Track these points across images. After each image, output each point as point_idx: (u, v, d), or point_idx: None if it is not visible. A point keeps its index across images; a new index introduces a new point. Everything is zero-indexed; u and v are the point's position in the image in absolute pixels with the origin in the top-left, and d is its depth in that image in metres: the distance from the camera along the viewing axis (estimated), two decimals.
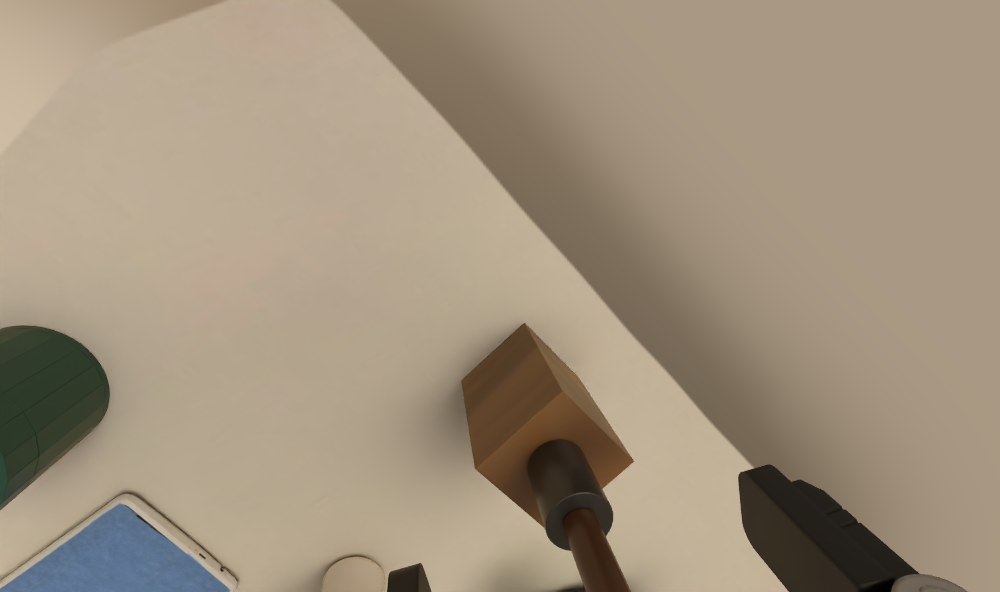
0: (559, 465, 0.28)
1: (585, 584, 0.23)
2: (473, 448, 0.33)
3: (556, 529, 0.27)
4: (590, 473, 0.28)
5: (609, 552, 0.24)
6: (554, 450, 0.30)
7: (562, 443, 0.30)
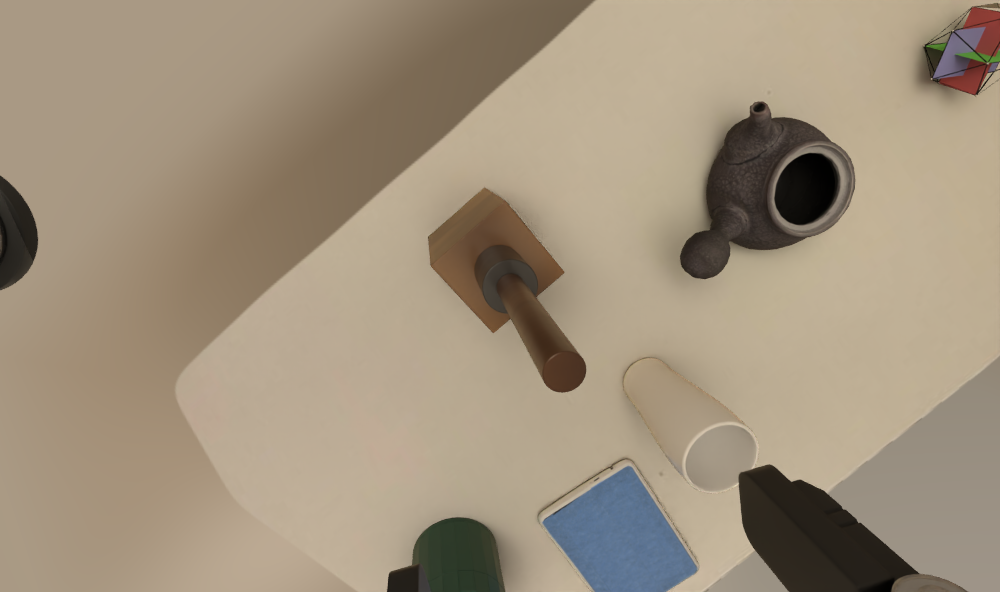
0: None
1: None
2: None
3: None
4: (485, 262, 0.34)
5: (506, 292, 0.30)
6: (476, 278, 0.37)
7: (475, 267, 0.37)
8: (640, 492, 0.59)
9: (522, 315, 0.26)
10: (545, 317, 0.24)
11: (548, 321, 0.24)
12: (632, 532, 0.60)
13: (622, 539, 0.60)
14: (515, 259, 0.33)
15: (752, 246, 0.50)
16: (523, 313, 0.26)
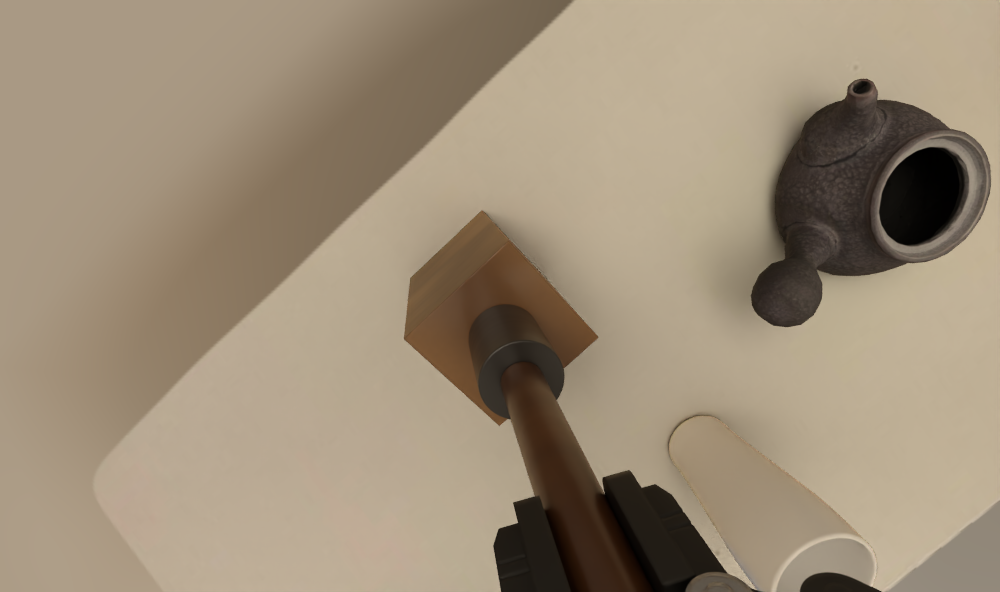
0: None
1: None
2: None
3: None
4: (482, 339, 0.23)
5: (516, 406, 0.18)
6: None
7: (469, 339, 0.25)
8: None
9: (546, 485, 0.14)
10: (592, 503, 0.13)
11: (600, 519, 0.12)
12: None
13: None
14: (528, 339, 0.21)
15: (839, 272, 0.38)
16: (548, 480, 0.14)
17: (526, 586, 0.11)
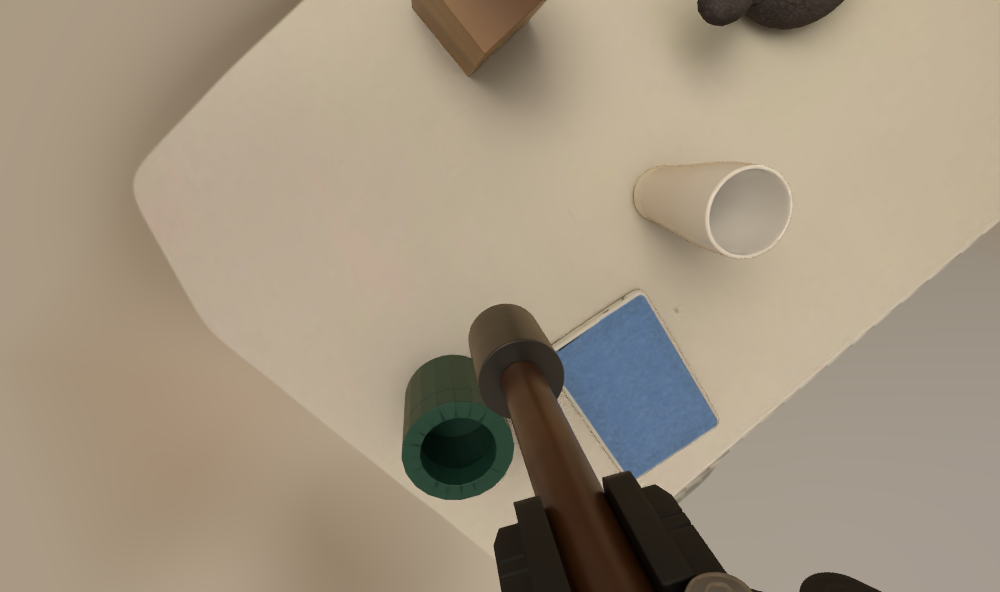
0: None
1: None
2: (480, 57, 0.36)
3: None
4: (482, 339, 0.23)
5: (516, 405, 0.18)
6: (471, 355, 0.25)
7: (469, 338, 0.25)
8: (654, 327, 0.53)
9: (547, 484, 0.14)
10: (592, 502, 0.13)
11: (600, 518, 0.12)
12: (646, 375, 0.55)
13: (635, 383, 0.55)
14: (528, 338, 0.21)
15: (776, 17, 0.44)
16: (548, 479, 0.14)
17: (527, 586, 0.11)
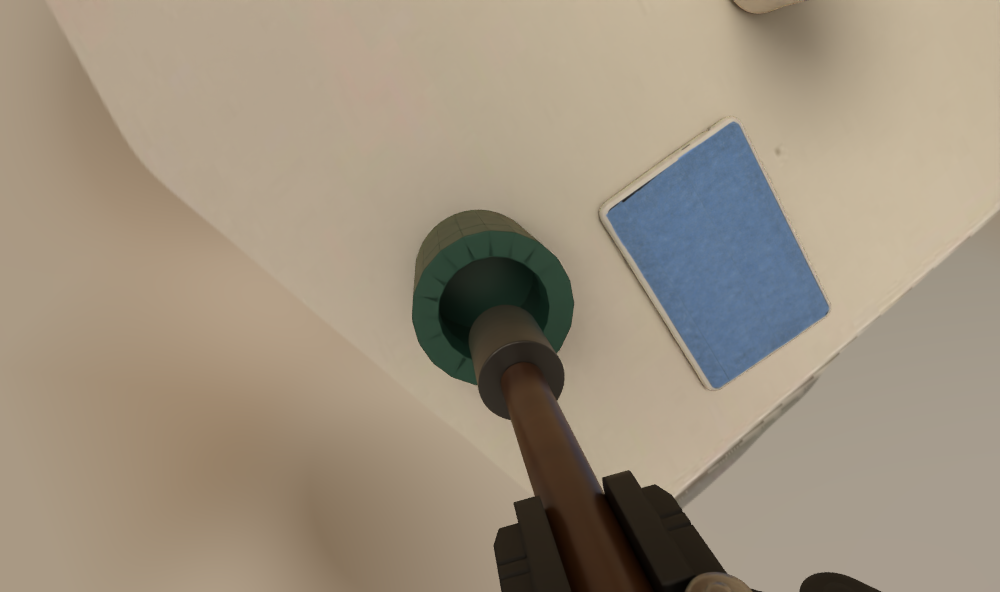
0: None
1: None
2: None
3: None
4: (482, 340, 0.23)
5: (516, 406, 0.18)
6: None
7: (469, 339, 0.25)
8: (751, 170, 0.39)
9: (547, 486, 0.14)
10: (592, 504, 0.13)
11: (600, 520, 0.12)
12: (737, 241, 0.41)
13: (723, 252, 0.41)
14: (528, 339, 0.21)
15: None
16: (549, 480, 0.14)
17: (526, 586, 0.11)
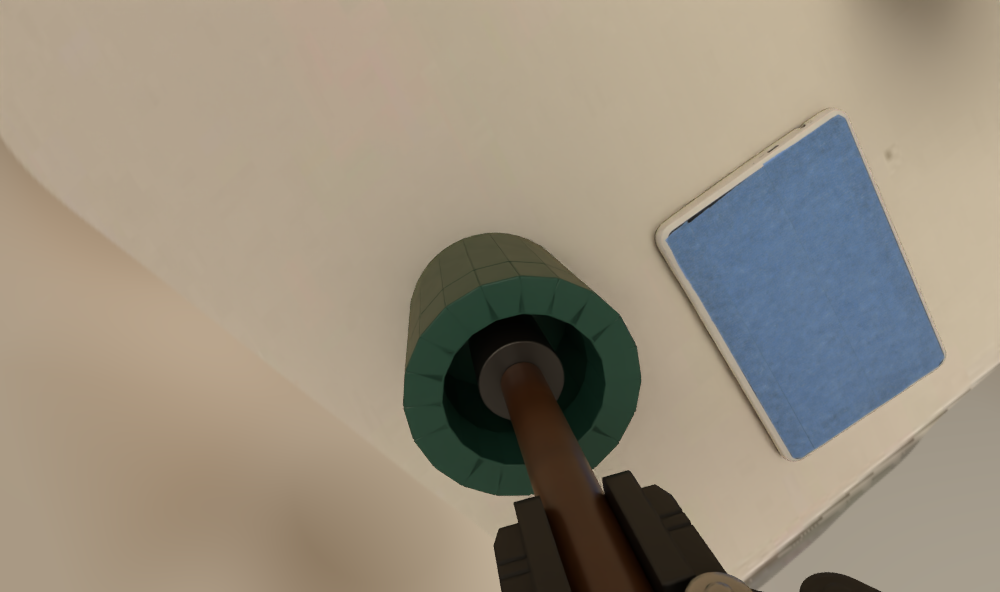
0: None
1: None
2: None
3: None
4: (482, 340, 0.23)
5: (516, 406, 0.18)
6: None
7: (469, 340, 0.25)
8: (857, 180, 0.29)
9: (547, 486, 0.14)
10: (592, 504, 0.13)
11: (600, 520, 0.12)
12: (835, 272, 0.31)
13: (816, 287, 0.31)
14: (528, 340, 0.21)
15: None
16: (549, 481, 0.14)
17: (526, 585, 0.11)
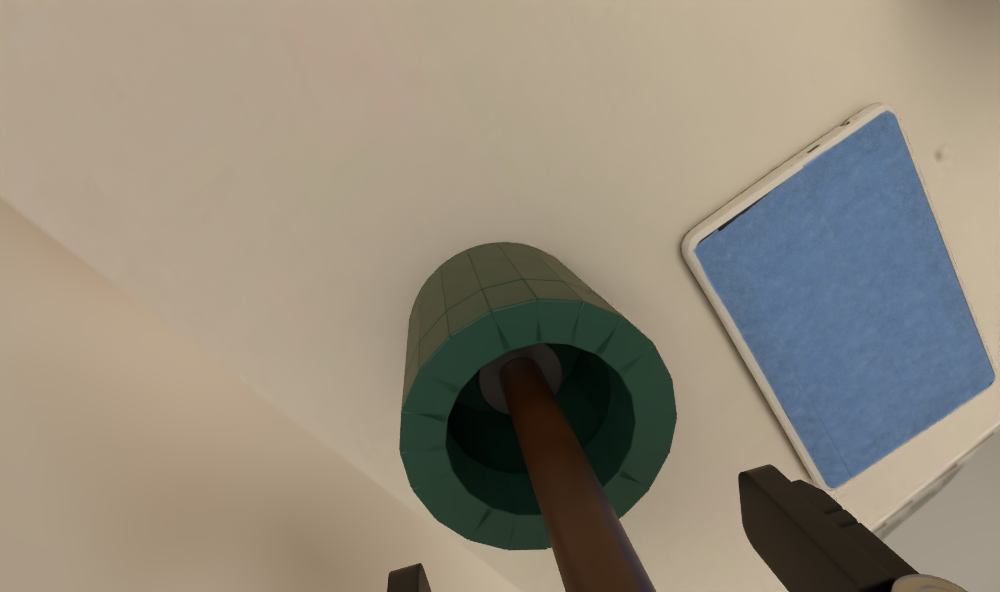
0: None
1: None
2: None
3: None
4: None
5: (515, 401, 0.19)
6: None
7: None
8: (906, 183, 0.26)
9: (545, 477, 0.14)
10: (589, 493, 0.13)
11: (596, 509, 0.12)
12: (878, 285, 0.28)
13: (858, 302, 0.28)
14: None
15: None
16: (546, 471, 0.14)
17: None
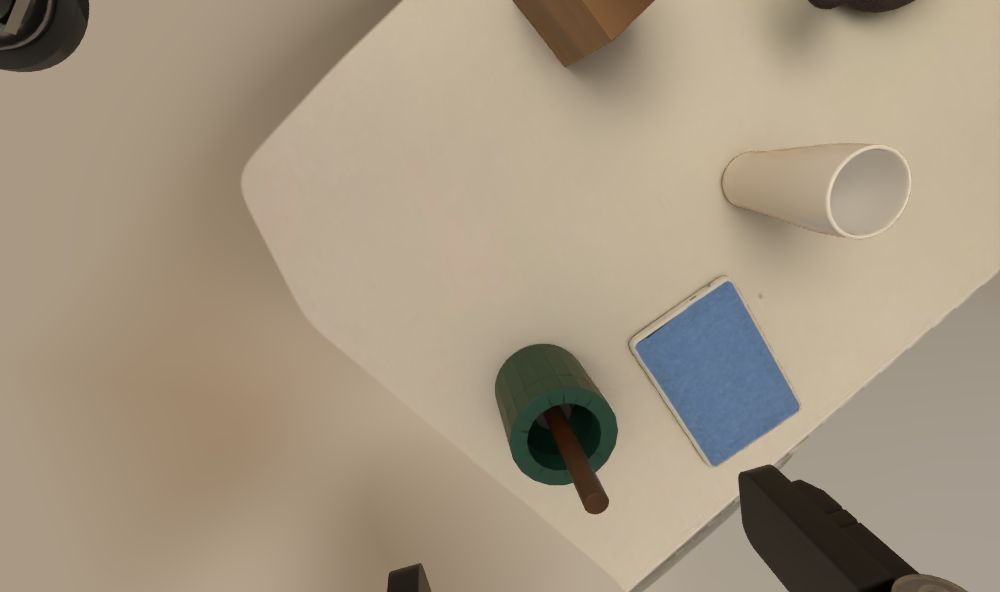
0: None
1: None
2: (600, 45, 0.36)
3: None
4: None
5: (552, 424, 0.46)
6: None
7: None
8: (740, 313, 0.54)
9: (567, 452, 0.41)
10: (581, 457, 0.40)
11: (584, 462, 0.40)
12: (731, 361, 0.55)
13: (720, 370, 0.55)
14: None
15: (873, 0, 0.44)
16: (567, 451, 0.41)
17: None
